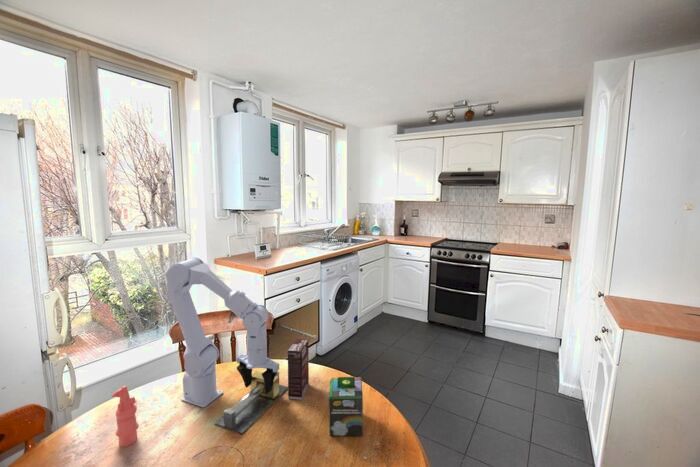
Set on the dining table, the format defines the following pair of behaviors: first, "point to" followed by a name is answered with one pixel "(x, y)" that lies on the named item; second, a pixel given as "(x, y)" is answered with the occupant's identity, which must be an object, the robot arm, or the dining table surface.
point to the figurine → (126, 418)
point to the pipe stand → (248, 409)
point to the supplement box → (298, 369)
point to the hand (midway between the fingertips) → (258, 388)
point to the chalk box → (346, 406)
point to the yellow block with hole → (258, 378)
